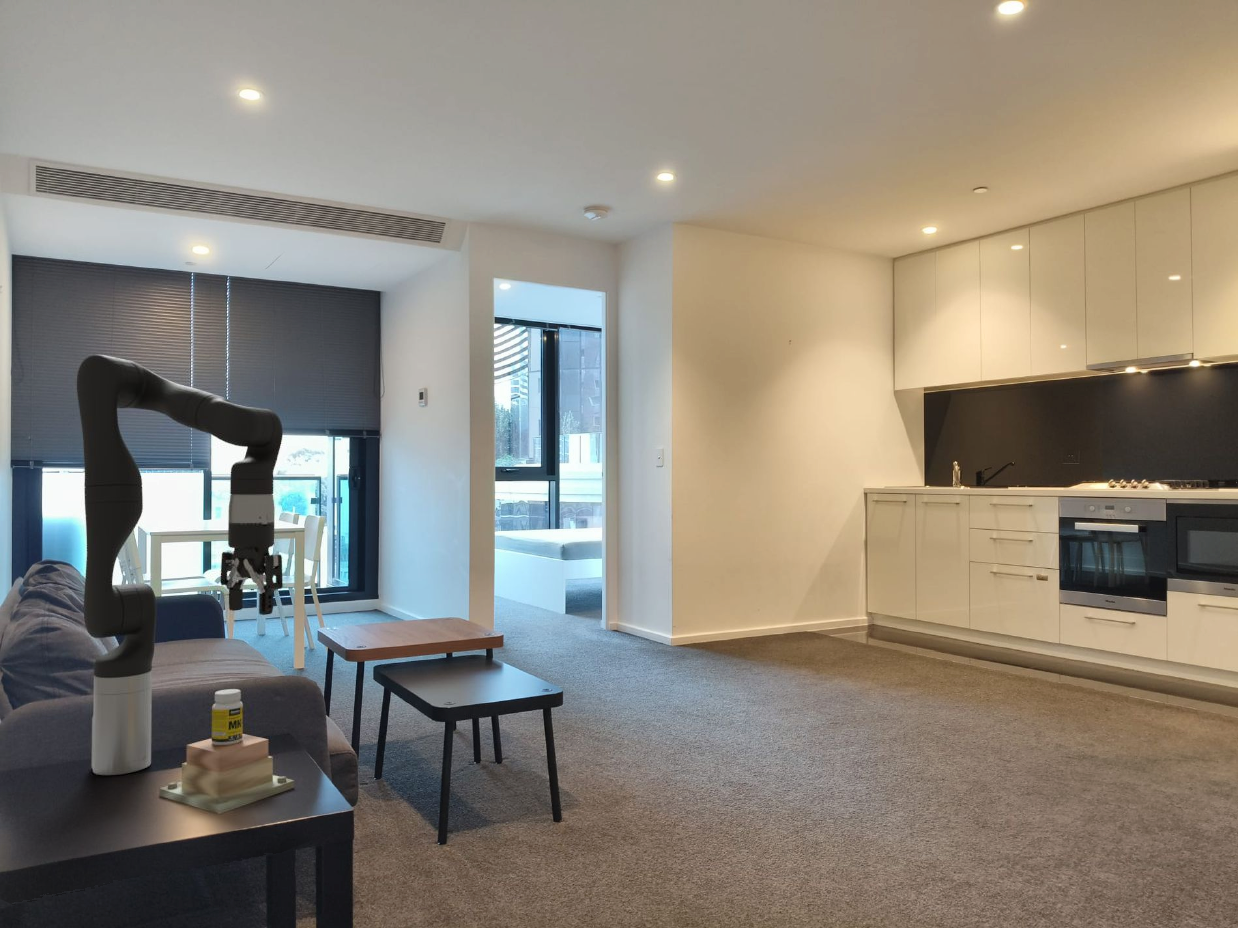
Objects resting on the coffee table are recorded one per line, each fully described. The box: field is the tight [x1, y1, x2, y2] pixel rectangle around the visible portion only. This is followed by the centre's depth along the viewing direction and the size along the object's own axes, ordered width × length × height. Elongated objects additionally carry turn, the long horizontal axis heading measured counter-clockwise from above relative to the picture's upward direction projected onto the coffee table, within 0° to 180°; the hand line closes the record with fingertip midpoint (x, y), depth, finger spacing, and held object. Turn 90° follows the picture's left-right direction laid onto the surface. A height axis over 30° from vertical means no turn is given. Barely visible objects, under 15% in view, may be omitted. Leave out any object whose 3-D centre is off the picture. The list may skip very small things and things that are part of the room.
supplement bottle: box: [211, 688, 244, 745], centre depth 147 cm, size 5×5×8 cm
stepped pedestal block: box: [158, 733, 295, 815], centre depth 147 cm, size 16×14×8 cm
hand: (250, 612), depth 155 cm, fingers open, 8 cm apart
